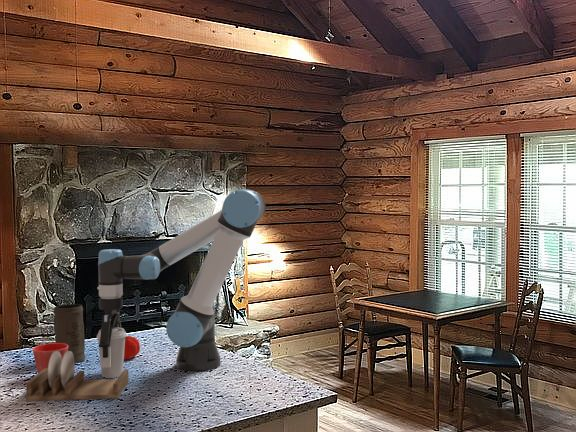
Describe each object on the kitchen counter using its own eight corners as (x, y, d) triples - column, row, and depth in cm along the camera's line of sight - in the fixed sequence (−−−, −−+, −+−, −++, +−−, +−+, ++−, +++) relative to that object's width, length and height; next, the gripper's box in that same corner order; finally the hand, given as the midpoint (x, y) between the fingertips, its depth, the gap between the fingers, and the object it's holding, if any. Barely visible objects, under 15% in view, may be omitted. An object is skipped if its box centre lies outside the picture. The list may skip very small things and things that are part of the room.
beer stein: (93, 358, 226) (89, 303, 226) (68, 365, 217) (64, 308, 217) (65, 356, 234) (61, 302, 234) (40, 362, 225) (36, 307, 225)
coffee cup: (111, 381, 198) (110, 334, 198) (91, 376, 204) (89, 331, 203) (133, 374, 206) (132, 328, 206) (113, 369, 212) (112, 325, 211)
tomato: (113, 362, 222) (112, 341, 221) (114, 355, 230) (113, 335, 230) (140, 360, 224) (139, 339, 224) (140, 354, 232) (139, 333, 232)
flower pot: (57, 381, 199) (56, 351, 199) (26, 380, 201) (25, 350, 201) (75, 372, 209) (74, 343, 209) (45, 370, 212) (45, 342, 211)
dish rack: (128, 382, 197) (127, 344, 196) (117, 398, 182) (116, 356, 181) (44, 384, 196) (43, 346, 195) (26, 400, 181) (25, 358, 180)
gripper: (108, 290, 216) (109, 351, 217) (88, 303, 191) (89, 372, 192) (130, 290, 217) (130, 351, 218) (113, 303, 192) (114, 372, 193)
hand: (111, 361), depth 205 cm, fingers open, 13 cm apart
